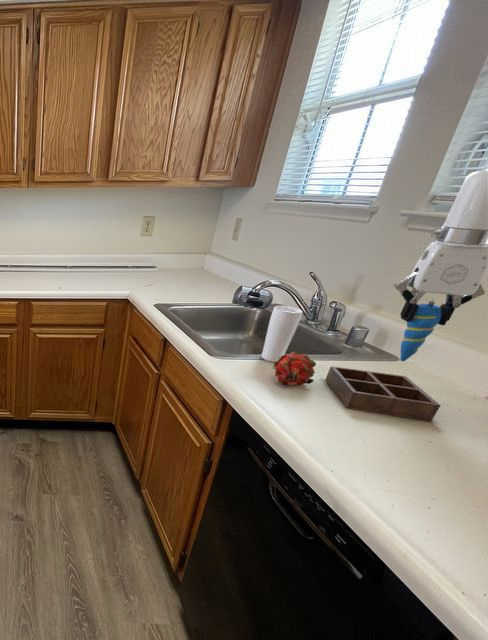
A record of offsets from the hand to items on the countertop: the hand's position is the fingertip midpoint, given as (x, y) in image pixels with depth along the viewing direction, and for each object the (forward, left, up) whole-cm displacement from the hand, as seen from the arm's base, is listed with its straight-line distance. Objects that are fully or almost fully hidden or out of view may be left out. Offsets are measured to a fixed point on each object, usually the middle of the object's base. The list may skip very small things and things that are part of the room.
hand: (422, 320), depth 93 cm
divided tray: (+4, +4, -19) cm, 20 cm away
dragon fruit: (+21, +2, -19) cm, 28 cm away
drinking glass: (+22, -14, -19) cm, 32 cm away
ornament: (0, 0, -10) cm, 10 cm away
